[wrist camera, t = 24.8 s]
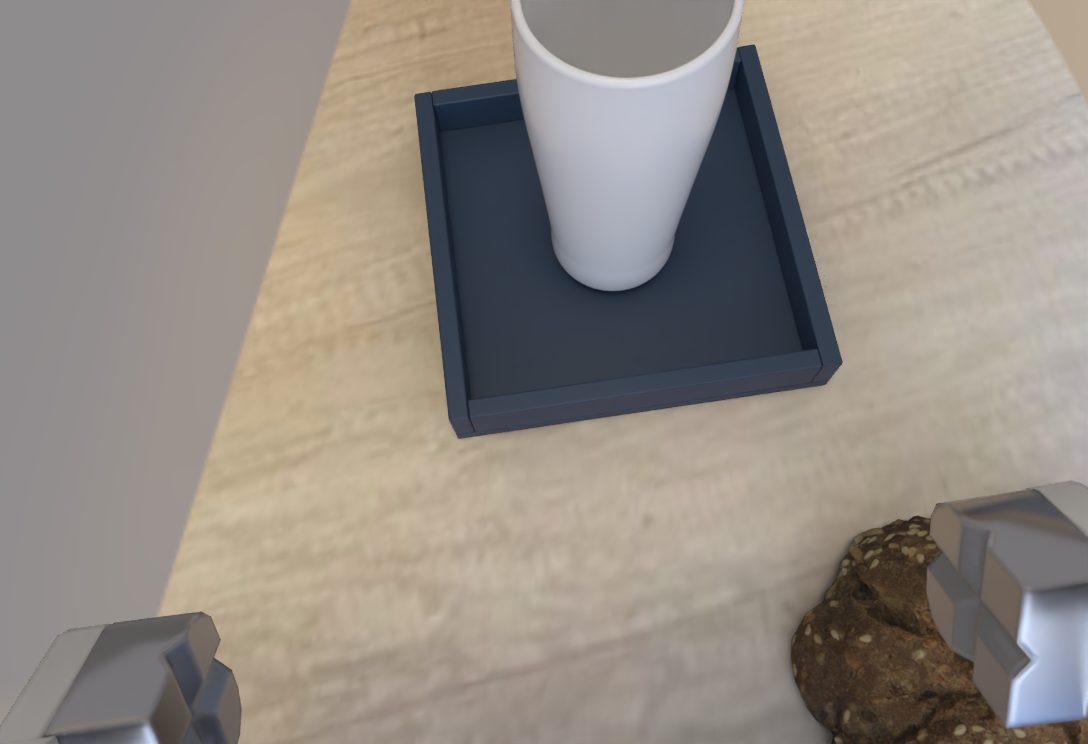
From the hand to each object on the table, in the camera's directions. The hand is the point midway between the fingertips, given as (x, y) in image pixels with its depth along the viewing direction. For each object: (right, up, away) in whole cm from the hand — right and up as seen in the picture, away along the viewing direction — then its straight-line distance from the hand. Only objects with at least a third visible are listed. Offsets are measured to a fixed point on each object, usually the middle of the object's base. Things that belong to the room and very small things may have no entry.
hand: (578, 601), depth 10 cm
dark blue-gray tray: (+3, +8, +29) cm, 31 cm away
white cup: (+3, +8, +29) cm, 30 cm away
